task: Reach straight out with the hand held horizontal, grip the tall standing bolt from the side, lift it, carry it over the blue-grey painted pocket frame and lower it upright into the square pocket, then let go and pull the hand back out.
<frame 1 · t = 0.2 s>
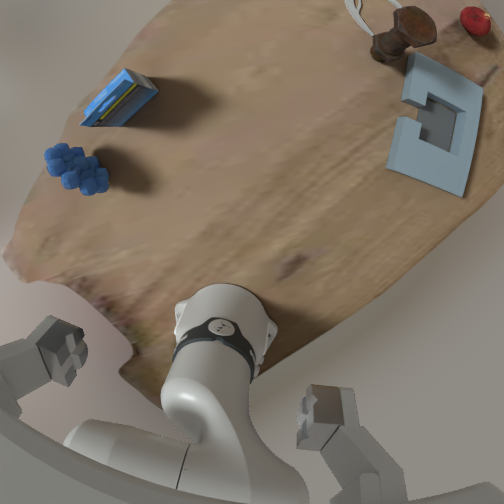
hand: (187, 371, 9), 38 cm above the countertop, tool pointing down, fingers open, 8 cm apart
bolt: (378, 54, 36), on the countertop
label tape box: (134, 102, 42), on the countertop
pocket frame: (435, 124, 39), on the countertop
onion: (464, 26, 31), on the countertop
grapes: (94, 168, 46), on the countertop
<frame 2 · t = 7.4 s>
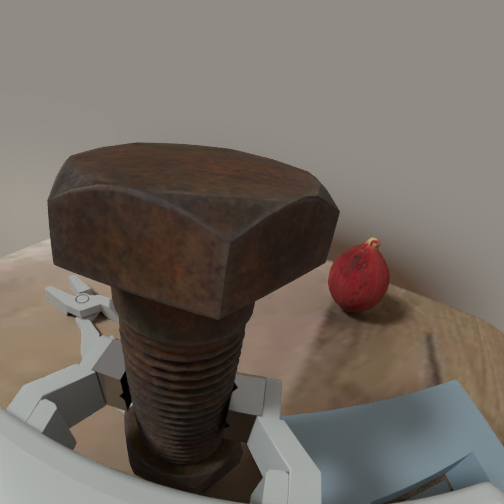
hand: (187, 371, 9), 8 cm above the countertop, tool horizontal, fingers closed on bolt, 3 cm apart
bolt: (182, 476, 12), on the countertop, touching gripper
pliers: (113, 336, 21), on the countertop
onion: (345, 312, 29), on the countertop
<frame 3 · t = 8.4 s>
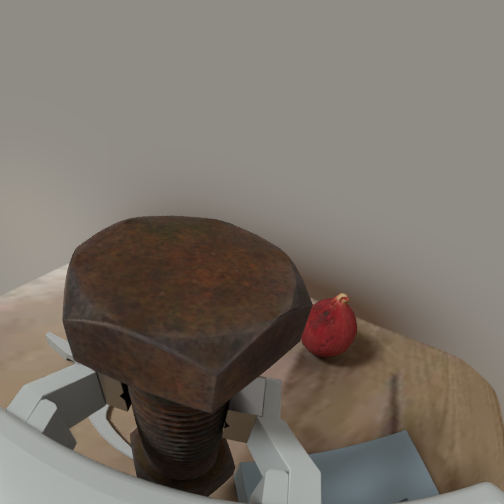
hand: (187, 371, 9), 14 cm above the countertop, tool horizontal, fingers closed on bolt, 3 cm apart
bolt: (182, 484, 13), point 4 cm above the countertop, touching gripper
pliers: (107, 380, 23), on the countertop
onion: (316, 355, 31), on the countertop
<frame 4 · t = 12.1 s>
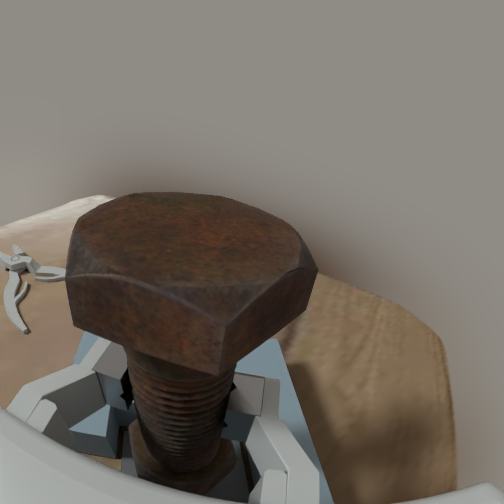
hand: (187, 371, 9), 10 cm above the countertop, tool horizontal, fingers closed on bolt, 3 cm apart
bolt: (182, 480, 13), resting on pocket frame, touching gripper
pocket frame: (183, 485, 13), on the countertop
pliers: (30, 284, 26), on the countertop
when the fingers open (10 cm above the countertop, at t = 12.2 s): bolt stays where it is, resting on pocket frame.
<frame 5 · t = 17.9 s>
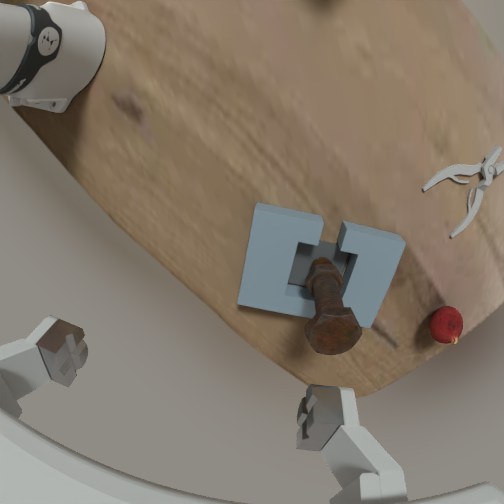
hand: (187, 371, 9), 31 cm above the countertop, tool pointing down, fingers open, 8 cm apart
bolt: (321, 265, 41), resting on pocket frame
pocket frame: (318, 265, 42), on the countertop
pliers: (470, 181, 34), on the countertop
onion: (437, 310, 43), on the countertop
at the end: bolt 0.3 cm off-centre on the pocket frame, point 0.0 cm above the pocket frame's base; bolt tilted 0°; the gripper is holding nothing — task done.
